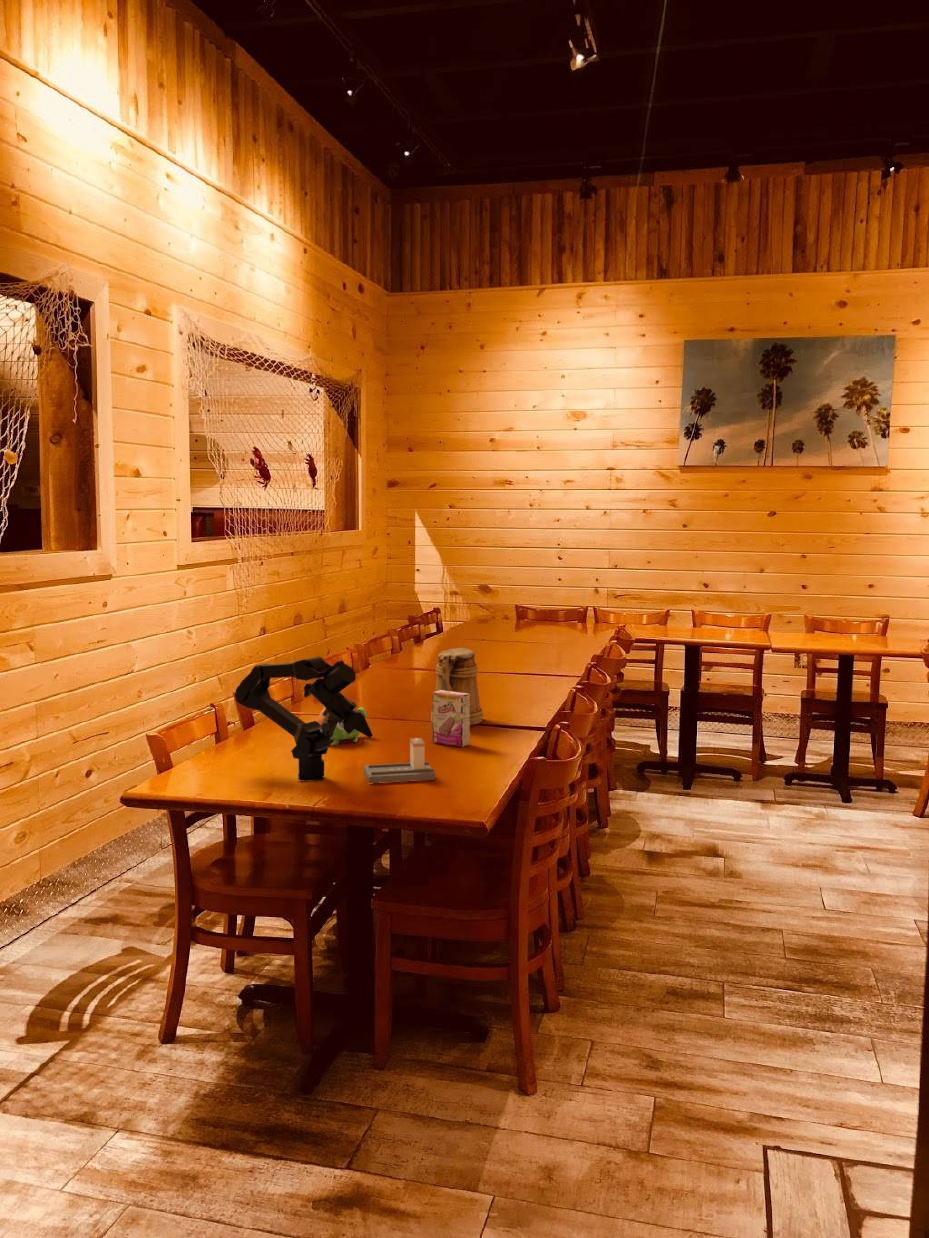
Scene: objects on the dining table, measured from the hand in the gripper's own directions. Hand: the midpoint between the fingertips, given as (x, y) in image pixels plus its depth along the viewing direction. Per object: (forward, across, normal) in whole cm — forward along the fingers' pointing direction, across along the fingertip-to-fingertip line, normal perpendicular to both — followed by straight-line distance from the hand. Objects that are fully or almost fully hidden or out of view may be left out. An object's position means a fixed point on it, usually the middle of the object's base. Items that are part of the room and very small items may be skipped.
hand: (371, 736), depth 267 cm
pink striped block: (+16, +1, +3) cm, 16 cm away
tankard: (+35, -60, +20) cm, 72 cm away
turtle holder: (+7, -45, -10) cm, 47 cm away
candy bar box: (+29, -32, +13) cm, 45 cm away
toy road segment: (+14, 0, -3) cm, 14 cm away
